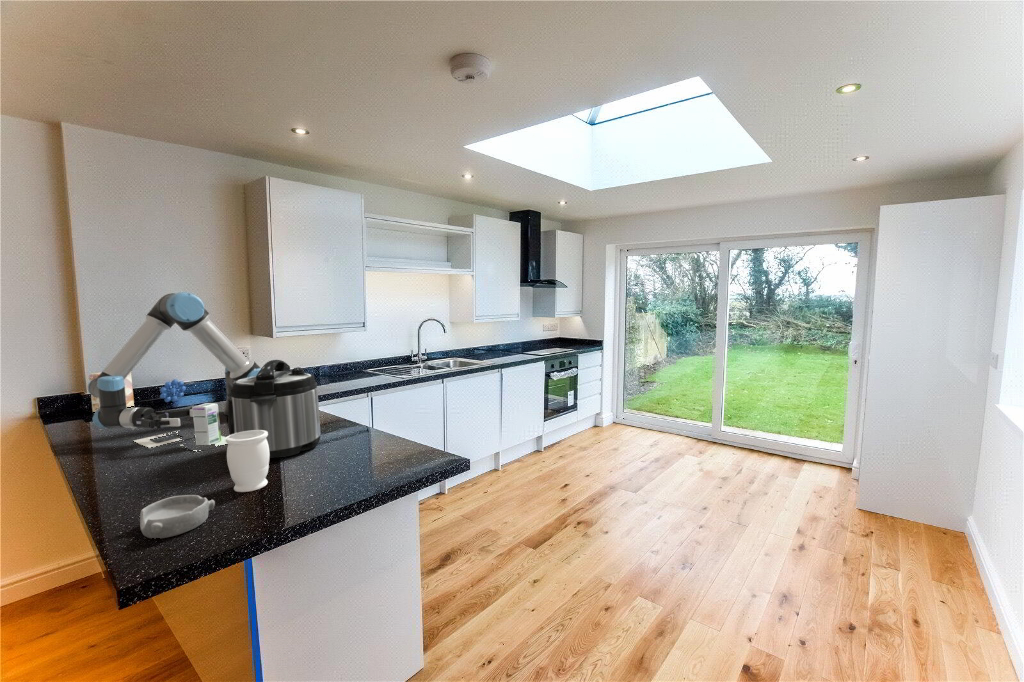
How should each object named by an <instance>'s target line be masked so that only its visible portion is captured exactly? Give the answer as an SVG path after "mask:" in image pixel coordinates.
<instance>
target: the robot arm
mask: <svg viewBox="0 0 1024 682" xmlns="http://www.w3.org/2000/svg"><path fill="white" fill-rule="evenodd" d="M175 324H176V325H177V326H178V327H179V328H180V329H181V330H182V331H183V332H190V333H191V334H192V335H193V337H195V338H196V339H197V340H198V341H199V342H200V343H201V344H202V346H204V347H205V348H206V349H207V350H208V351H209V352H210V353H211V354H212V355H213V356H214V357H215V358H216V359H217V360H218V361H219V362H220V364H222V365H223V367H225V368H224V377H225V388H226V389H225V391H226V399H225V400H226V401H225V403H224V407H223V414H224V415H225V416H228V399H230V398H231V390H232V389H233V385H232V383H233V382H234V381H237V380H240V379H244V378H248V377H252V376H257V374H258V372H259V371H260V369H261V368H262V367H260V365H259V364H257V363H256V361H255V360H254V359H248V358H247V357H246V356H245V355H244V353H242V352H241V351H240V350H239V348H237V346H236V345H234V344H233V343H232V341H231V340H230V339H229V338H228V337H227V336H226V335H225V334H224V333H223V332H222V331H221V329H219V328H218V327H217V325H216V324H215V323H214V322H213V321H212V320H211V319H210V312H209V311H208V310H207V309H206V307H205V304H204V302H203V300H202V299H201V298H200V297H198V296H197V295H195V294H193V293H189V292H186V291H185V292H184V291H183V292H176V293H175V292H174V293H167V294H164V295H163V296H161V297H160V298H159V299H158V301H156V302H155V304H154V305H153V307H152V308H151V309H150V310H149V311H148V312H147V314H146V315H145V320H144V322H143V323H142V324H141V325H140V326H139V328H137V330H136V331H135V332H134V334H133V335H132V336H131V337H130V338H129V339H128V340H127V342H126V343H125V344H124V345H123V347H121V349H120V350H119V351H118V353H117V354H116V355H115V356H114V357H113V358H112V359H111V361H110V362H109V363H108V364H107V366H106V367H105V368H104V369H103V370H102V371H101V372H102V373H101V374H100V375H99V376H98V377H97V378H96V379H93V380H92V381H90V380H89V382H88V385H87V390H88V393H89V394H90V396H91V395H93V396H94V397H96V398H99V402H100V409H98V410H97V411H96V412H95V413H93V416H92V422H93V424H94V426H96V427H97V428H100V429H110V430H111V429H131V430H135V429H155V428H156V430H160V429H161V428H162V427H181V426H182V425H181V419H180V418H184V417H190V418H191V417H193V410H192V407H193V406H190V407H188V408H179V409H165V410H164V411H161V410H158V411H156V410H155V409H154V408H152V407H131V408H127V407H126V396H125V383H124V379H125V378H126V377H127V376H128V375H129V373H130V372H131V373H132V371H133V370H134V369H135V367H136V366H137V365H138V364H139V363H140V362H141V360H142V359H143V358H144V357H145V355H146V354H147V353H148V352H149V351H150V350H151V348H152V347H153V345H155V343H156V342H157V341H158V340H159V339H160V337H161V336H162V335H163V333H165V331H166V330H170V329H172V327H173V326H174V325H175Z"/></svg>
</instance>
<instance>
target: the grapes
mask: <svg viewBox="0 0 1024 682" xmlns="http://www.w3.org/2000/svg"><path fill="white" fill-rule="evenodd" d="M184 384H185V382H184V381H182V380H180V381H179V380H178V379H177V378H175V379H172V380H171V381H166V382H165V383H164V386H162V387H160V389H159V391H160V394H159V398H160V399H164V402H165V403H169V402H176V401H178V400H179V398H182V397H184V394H185V393H184V392H185V391H186V390H187V387H186V385H184Z"/></svg>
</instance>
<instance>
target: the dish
mask: <svg viewBox="0 0 1024 682" xmlns="http://www.w3.org/2000/svg"><path fill="white" fill-rule="evenodd" d="M215 505H216V501H215V500H214V499H211V500H208V498H207V497H202V496H200V495H197V494H184V495H173V496H170V497H167V498H163V499H161V500H157V501H156V502H152V503H151V504H148V505H147V506H146V507H144V508H142V509H141V510H140V513H139V514H140V515H139V526H140V527H139V528H140V531H141V533H142V535H143V536H144V537H146V538H148V539H152V538H154V540H155V539H156V538H160V539H165V538H167V539H168V538H171V537H174V536H175V537H176V536H178V535H181V534H184V533H187V532H189V531H191V530H193V529H196V528H197V527H199V526H200V525H203V523H205V522H206V520H207V519H208V517H209V512H210V510H213V509H214V508H215ZM156 540H157V539H156Z"/></svg>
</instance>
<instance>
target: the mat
mask: <svg viewBox="0 0 1024 682" xmlns="http://www.w3.org/2000/svg"><path fill="white" fill-rule="evenodd" d="M226 437H227V436H224V435H221V441H219V442H217V443H214V444H215V446H216V447H217V446H218V445H219V446H220V445H224V446H226V445H225V444H228V443H227V442H226ZM183 444H184V443H183ZM183 444H182V443H181V444H179V445H180V446H184V445H183ZM180 446H179V447H180ZM185 448H186V447H185ZM185 448H184V449H185ZM217 448H218V447H217ZM193 451H196V452H197V450H193ZM193 451H192V452H193ZM199 451H201V450H199ZM196 452H195V453H196ZM201 452H202V451H201ZM197 453H198V452H197Z"/></svg>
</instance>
